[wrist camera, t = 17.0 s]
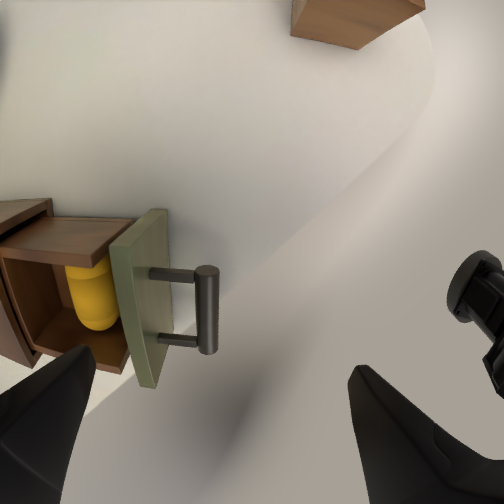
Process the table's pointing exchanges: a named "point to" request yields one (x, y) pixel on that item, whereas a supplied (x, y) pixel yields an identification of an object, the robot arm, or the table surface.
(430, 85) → the table surface
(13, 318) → the cabinet
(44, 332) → the drawer
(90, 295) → the yellow capsule toy
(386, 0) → the stand
